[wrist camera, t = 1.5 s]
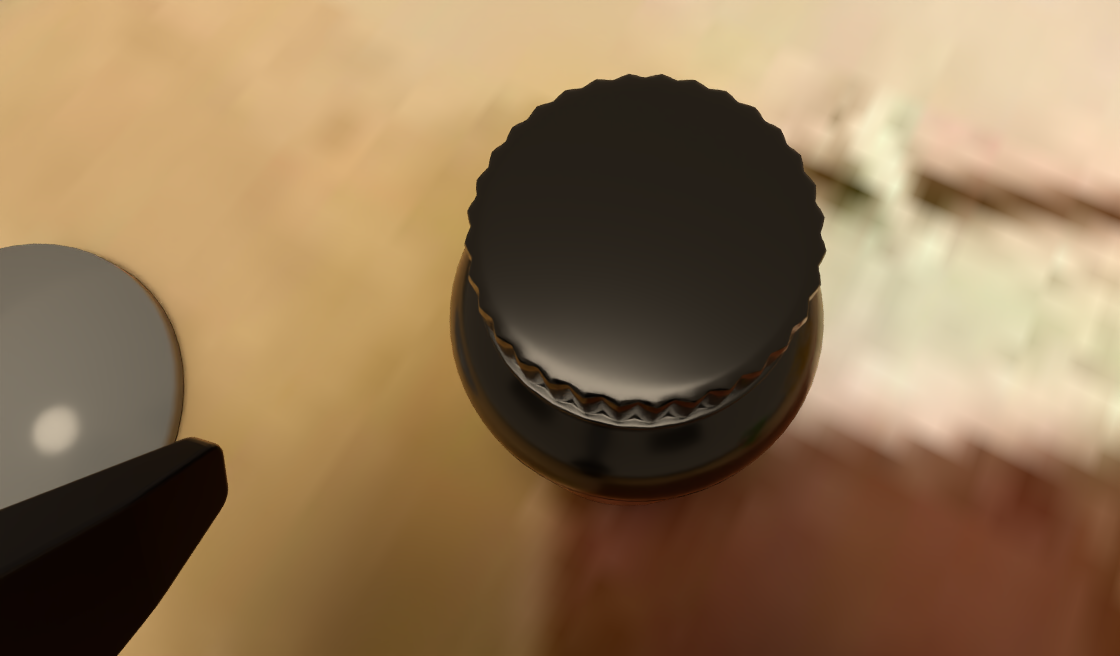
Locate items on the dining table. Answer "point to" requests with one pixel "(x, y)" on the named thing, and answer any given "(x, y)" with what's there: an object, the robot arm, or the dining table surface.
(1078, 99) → the dining table surface
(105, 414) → the coaster
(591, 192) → the supplement bottle
